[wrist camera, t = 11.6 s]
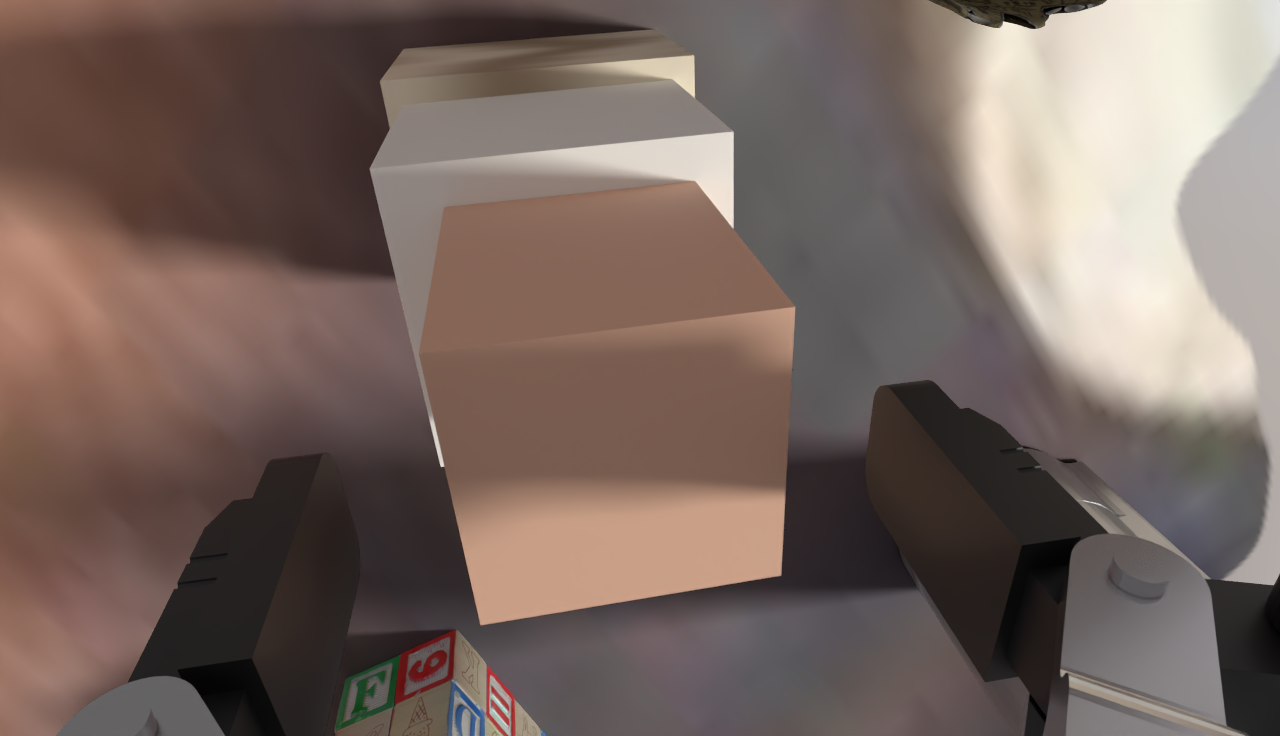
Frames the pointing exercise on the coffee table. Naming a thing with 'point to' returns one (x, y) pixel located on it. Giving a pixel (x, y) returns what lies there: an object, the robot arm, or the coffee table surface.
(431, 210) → the cream middle block
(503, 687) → the stack of blocks
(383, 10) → the coffee table surface
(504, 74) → the maple base block
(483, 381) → the tan block
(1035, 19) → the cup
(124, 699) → the robot arm
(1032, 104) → the coffee table surface
